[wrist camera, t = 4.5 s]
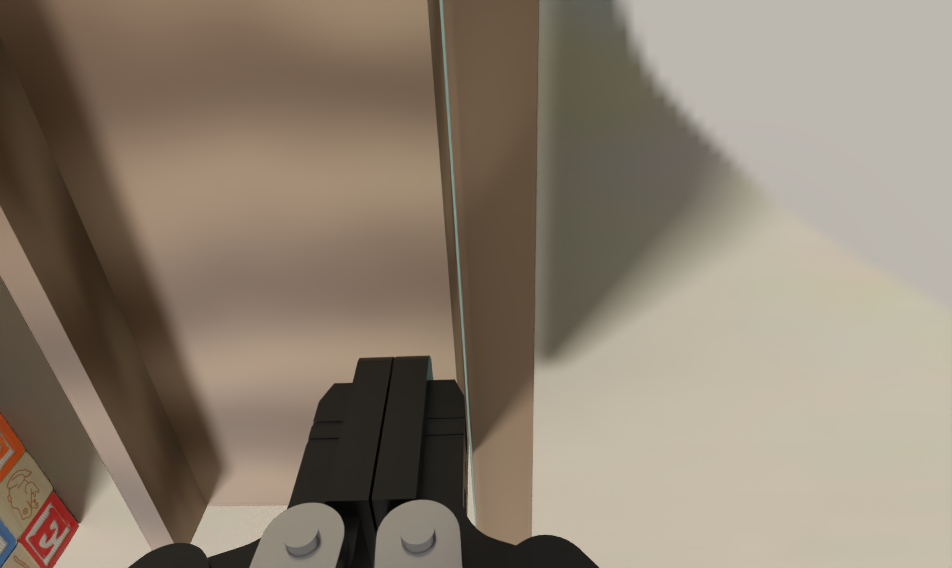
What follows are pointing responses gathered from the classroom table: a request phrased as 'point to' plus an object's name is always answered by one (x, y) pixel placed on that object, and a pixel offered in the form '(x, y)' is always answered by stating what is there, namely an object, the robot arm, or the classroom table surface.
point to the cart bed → (223, 225)
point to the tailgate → (495, 243)
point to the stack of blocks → (29, 510)
